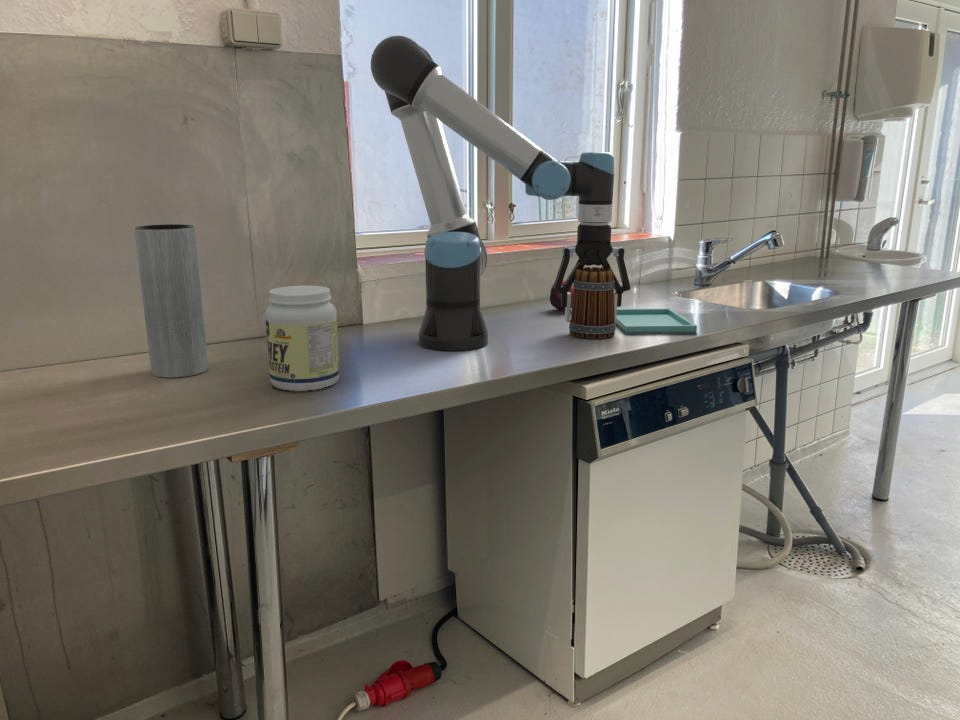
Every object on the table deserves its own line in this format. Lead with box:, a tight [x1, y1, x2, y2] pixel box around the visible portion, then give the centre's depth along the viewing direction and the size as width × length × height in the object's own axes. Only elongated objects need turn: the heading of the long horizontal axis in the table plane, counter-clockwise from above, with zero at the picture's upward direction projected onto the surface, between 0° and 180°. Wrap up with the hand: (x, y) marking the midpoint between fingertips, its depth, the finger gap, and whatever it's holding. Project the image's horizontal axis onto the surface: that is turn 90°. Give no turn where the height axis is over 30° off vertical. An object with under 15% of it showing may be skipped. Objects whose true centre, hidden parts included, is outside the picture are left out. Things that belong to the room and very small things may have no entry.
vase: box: [133, 223, 209, 379], centre depth 136 cm, size 10×10×27 cm
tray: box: [615, 308, 698, 335], centre depth 180 cm, size 17×21×2 cm
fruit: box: [549, 280, 574, 312], centre depth 196 cm, size 8×8×8 cm
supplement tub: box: [264, 285, 340, 392], centre depth 130 cm, size 12×12×17 cm
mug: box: [568, 265, 617, 340], centre depth 170 cm, size 16×11×15 cm
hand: (590, 320), depth 171 cm, fingers closed on mug, 10 cm apart
